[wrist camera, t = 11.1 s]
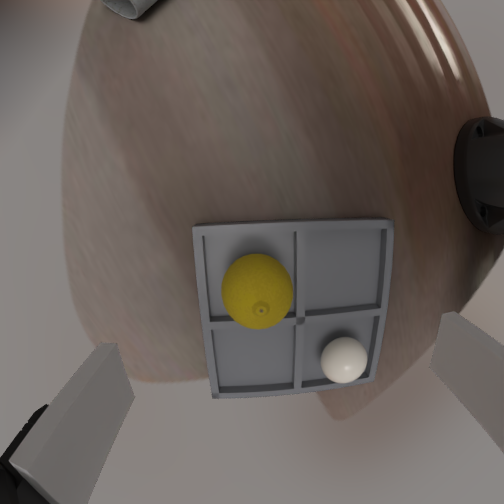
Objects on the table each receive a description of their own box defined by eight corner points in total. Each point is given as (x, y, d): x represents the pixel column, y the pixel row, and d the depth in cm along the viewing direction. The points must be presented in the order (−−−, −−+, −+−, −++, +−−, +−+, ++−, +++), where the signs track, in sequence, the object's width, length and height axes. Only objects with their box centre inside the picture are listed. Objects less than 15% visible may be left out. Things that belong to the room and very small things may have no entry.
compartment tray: (383, 217, 26) (394, 219, 24) (367, 371, 30) (373, 381, 28) (195, 223, 26) (192, 227, 23) (213, 386, 30) (212, 398, 27)
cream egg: (360, 326, 27) (378, 348, 23) (354, 362, 29) (370, 387, 24) (316, 331, 27) (330, 356, 23) (314, 368, 28) (325, 396, 24)
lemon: (295, 280, 26) (318, 317, 18) (246, 313, 27) (251, 360, 19) (260, 232, 25) (272, 252, 17) (210, 268, 25) (200, 303, 18)
